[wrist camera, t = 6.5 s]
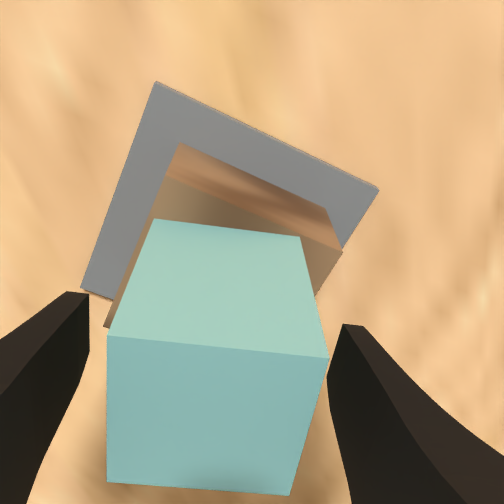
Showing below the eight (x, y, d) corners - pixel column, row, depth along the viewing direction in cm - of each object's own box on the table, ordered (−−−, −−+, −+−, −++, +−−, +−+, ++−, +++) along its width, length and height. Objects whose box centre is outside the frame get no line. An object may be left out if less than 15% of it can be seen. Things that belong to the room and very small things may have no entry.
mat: (376, 186, 18) (379, 190, 18) (271, 351, 22) (272, 357, 21) (156, 81, 16) (154, 82, 16) (82, 282, 20) (79, 287, 19)
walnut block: (325, 208, 18) (343, 252, 15) (257, 322, 20) (259, 380, 17) (179, 141, 17) (165, 175, 13) (125, 272, 19) (103, 326, 16)
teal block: (299, 236, 15) (329, 358, 10) (275, 348, 17) (289, 496, 12) (153, 218, 14) (106, 335, 9) (147, 335, 16) (106, 481, 11)
